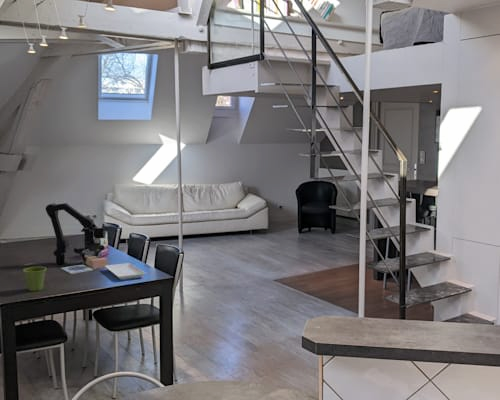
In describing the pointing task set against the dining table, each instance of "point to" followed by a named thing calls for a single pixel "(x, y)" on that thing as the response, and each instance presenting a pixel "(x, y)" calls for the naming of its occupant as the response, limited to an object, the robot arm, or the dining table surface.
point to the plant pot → (35, 277)
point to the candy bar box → (103, 242)
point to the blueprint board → (76, 269)
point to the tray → (125, 271)
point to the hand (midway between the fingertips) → (89, 261)
